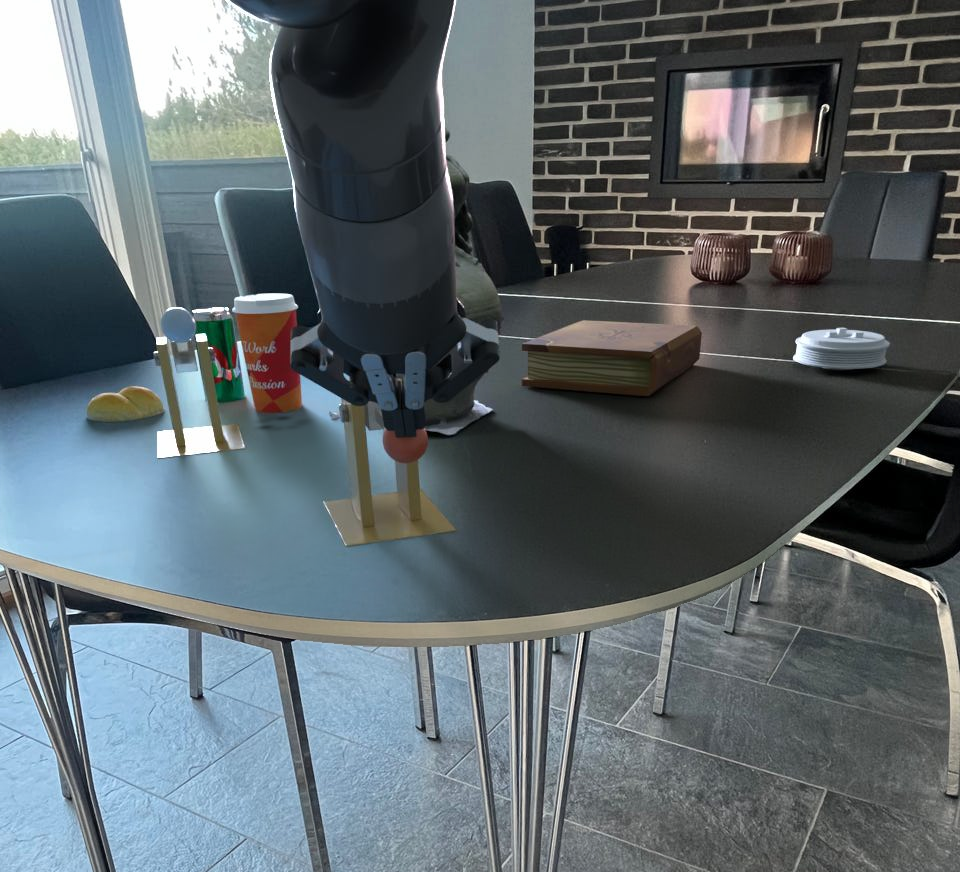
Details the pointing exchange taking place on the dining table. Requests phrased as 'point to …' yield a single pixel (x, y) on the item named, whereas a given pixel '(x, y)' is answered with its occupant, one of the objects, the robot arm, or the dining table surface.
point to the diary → (612, 356)
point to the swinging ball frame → (380, 495)
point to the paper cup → (269, 350)
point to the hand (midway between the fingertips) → (406, 425)
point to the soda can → (221, 352)
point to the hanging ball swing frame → (180, 438)
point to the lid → (841, 349)
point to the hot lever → (395, 447)
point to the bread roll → (125, 405)
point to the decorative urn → (475, 298)
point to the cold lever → (180, 338)
